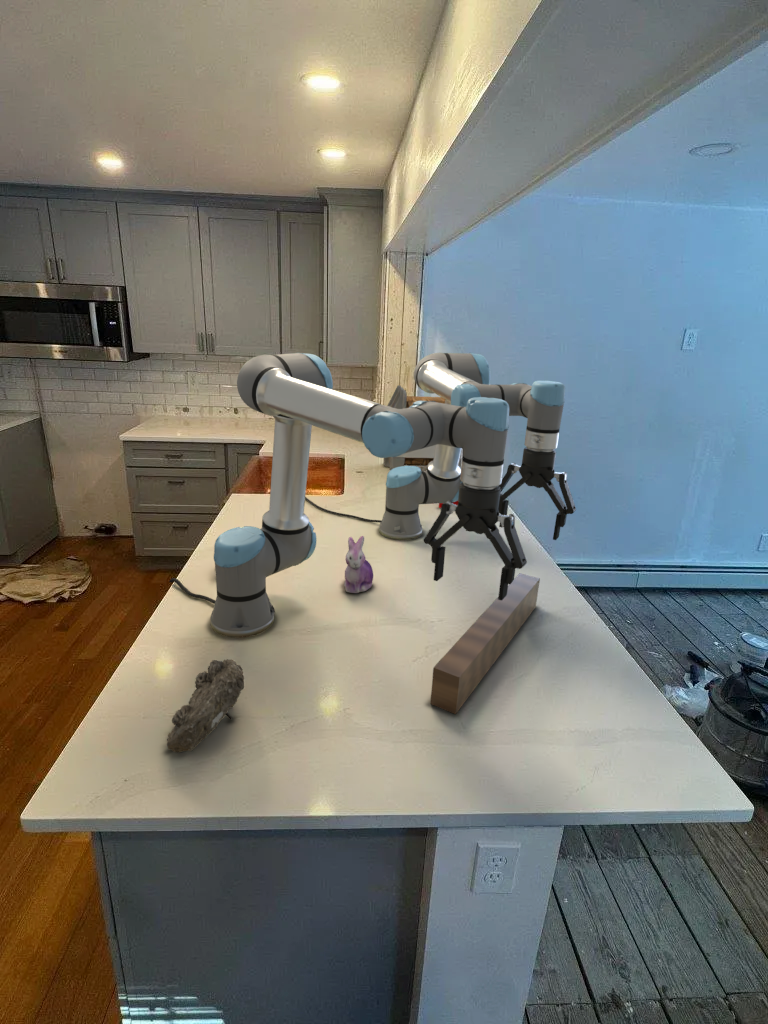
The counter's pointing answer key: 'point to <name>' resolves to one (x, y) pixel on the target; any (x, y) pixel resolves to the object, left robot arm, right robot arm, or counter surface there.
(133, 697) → the counter surface
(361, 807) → the counter surface
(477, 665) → the beam
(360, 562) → the figurine
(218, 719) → the fossil
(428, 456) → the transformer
